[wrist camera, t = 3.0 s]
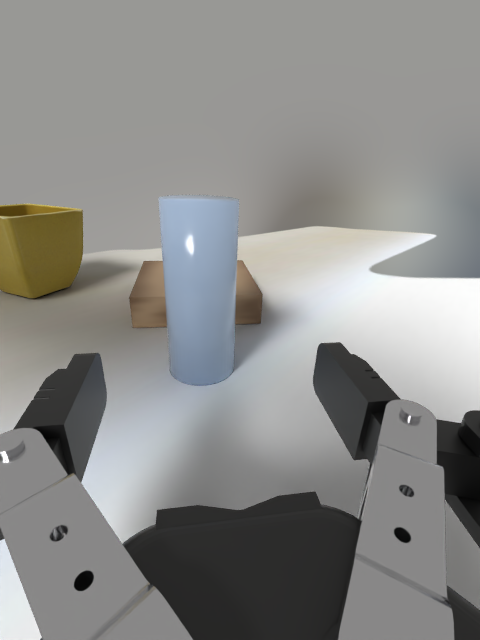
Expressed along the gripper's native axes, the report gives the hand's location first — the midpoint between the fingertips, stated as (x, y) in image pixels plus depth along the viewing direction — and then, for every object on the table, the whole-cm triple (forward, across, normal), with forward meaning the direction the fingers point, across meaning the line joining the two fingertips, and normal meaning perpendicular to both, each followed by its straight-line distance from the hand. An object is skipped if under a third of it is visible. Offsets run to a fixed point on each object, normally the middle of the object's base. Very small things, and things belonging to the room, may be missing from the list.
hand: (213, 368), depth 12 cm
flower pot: (+29, +18, +7) cm, 35 cm away
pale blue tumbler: (+11, 0, +7) cm, 13 cm away
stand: (+24, 0, +7) cm, 25 cm away
